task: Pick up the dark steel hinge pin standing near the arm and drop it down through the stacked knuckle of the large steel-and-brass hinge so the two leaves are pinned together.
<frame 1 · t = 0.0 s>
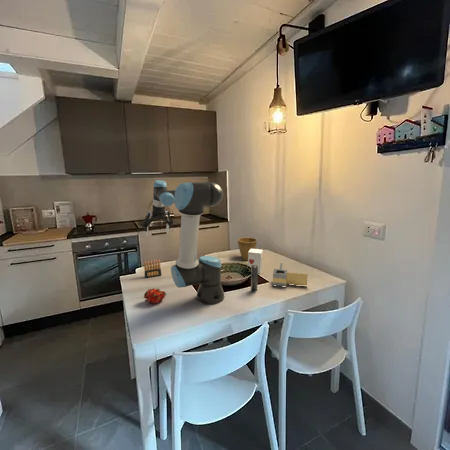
hand: (157, 234, 176), 28 cm above the table, tool tilted 20°, fingers open, 13 cm apart
ammunition clip: (153, 277, 177), on the table
supplement box: (255, 271, 187), on the table
hinge pin: (254, 290, 156), on the table
hinge: (279, 284, 165), on the table
dragon fruit: (155, 302, 143), on the table
plant pot: (246, 259, 212), on the table
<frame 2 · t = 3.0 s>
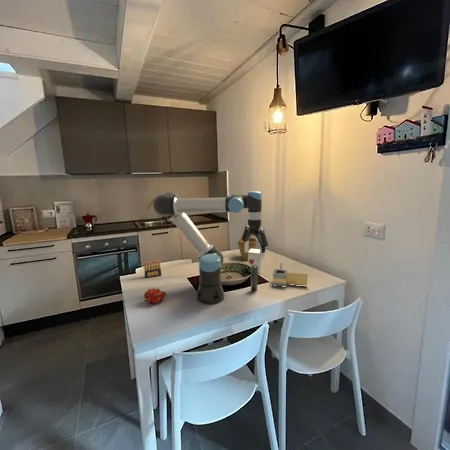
hand: (254, 254, 155), 21 cm above the table, tool pointing down, fingers open, 13 cm apart
nothing on the table moved.
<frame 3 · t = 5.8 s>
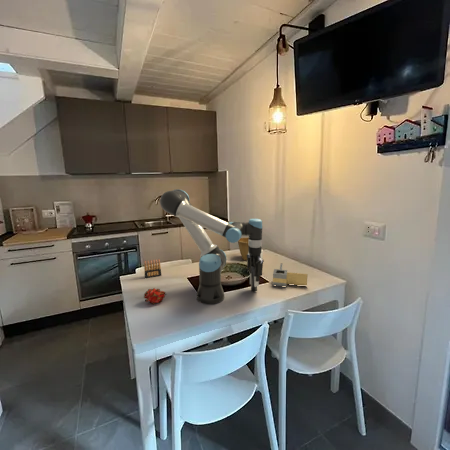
hand: (254, 284, 156), 4 cm above the table, tool pointing down, fingers closed on hinge pin, 3 cm apart
hinge pin: (254, 290, 156), on the table, touching gripper
everything else where it was.
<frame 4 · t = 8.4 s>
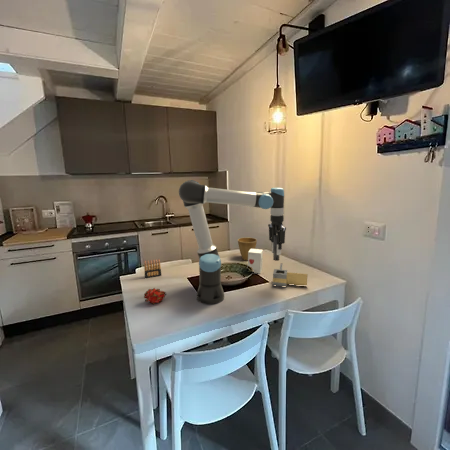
hand: (276, 253, 159), 20 cm above the table, tool pointing down, fingers closed on hinge pin, 3 cm apart
hinge pin: (276, 259, 160), point 17 cm above the table, touching gripper
everything else where it was.
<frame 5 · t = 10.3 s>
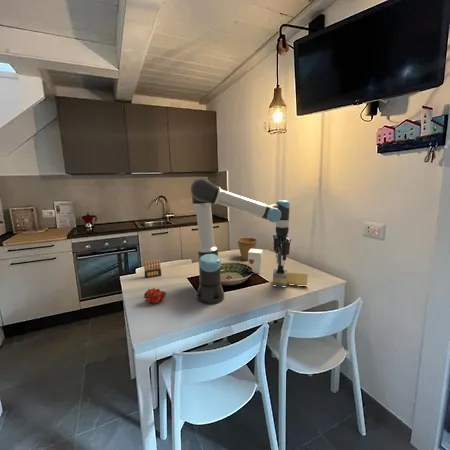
hand: (280, 263, 163), 13 cm above the table, tool pointing down, fingers closed on hinge pin, 3 cm apart
hinge pin: (280, 270, 163), point 9 cm above the table, touching gripper
everything else where it was.
when the fingers open (9 cm above the table, at t = 11.5 s): hinge pin drops 4 cm, resting in hinge.
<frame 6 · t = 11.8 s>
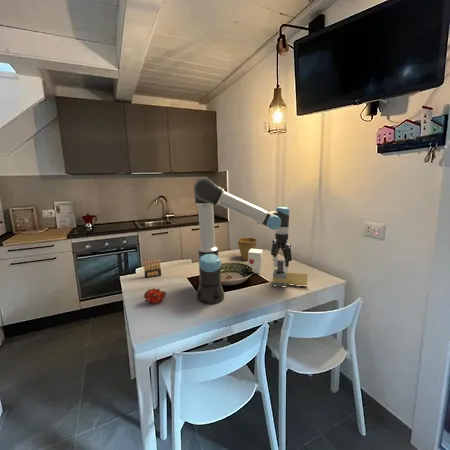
hand: (280, 269, 163), 10 cm above the table, tool pointing down, fingers open, 8 cm apart
hinge pin: (279, 284, 165), resting in hinge
everything else where it was.
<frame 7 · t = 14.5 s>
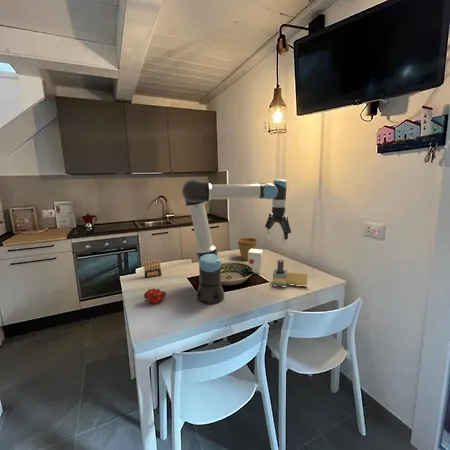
hand: (276, 241, 160), 27 cm above the table, tool pointing down, fingers open, 13 cm apart
nothing on the table moved.
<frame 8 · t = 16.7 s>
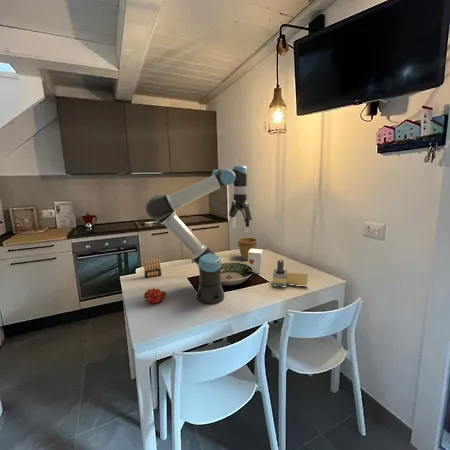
hand: (239, 230, 157), 35 cm above the table, tool pointing down, fingers open, 13 cm apart
nothing on the table moved.
at the end: hinge pin 0.0 cm off-centre on the hinge, point 0.0 cm above the hinge's base; hinge pin tilted 0°; the gripper is holding nothing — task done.
